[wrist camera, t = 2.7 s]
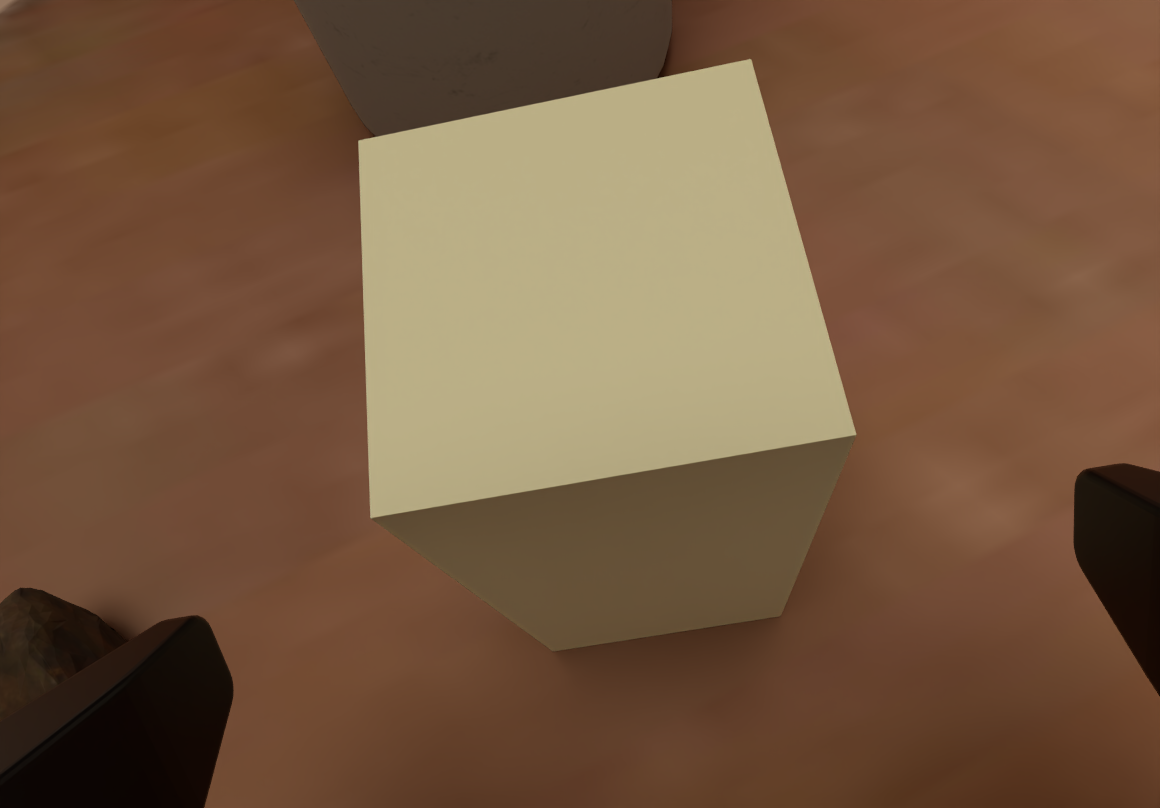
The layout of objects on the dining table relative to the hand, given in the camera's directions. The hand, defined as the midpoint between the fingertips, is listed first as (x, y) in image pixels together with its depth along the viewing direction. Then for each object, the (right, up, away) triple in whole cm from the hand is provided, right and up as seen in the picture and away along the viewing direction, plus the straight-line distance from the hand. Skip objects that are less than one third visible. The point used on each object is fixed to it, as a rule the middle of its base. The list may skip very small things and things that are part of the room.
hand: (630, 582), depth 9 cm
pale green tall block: (+1, -1, +11) cm, 11 cm away
